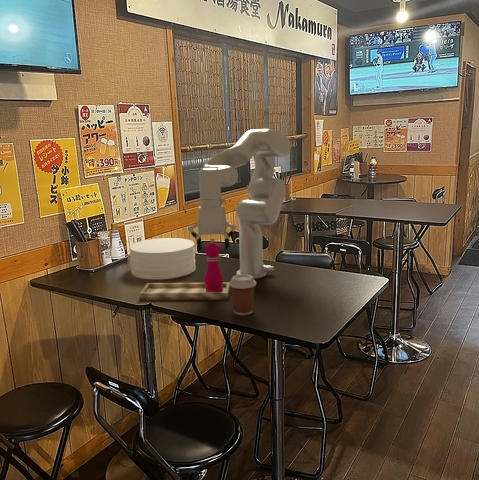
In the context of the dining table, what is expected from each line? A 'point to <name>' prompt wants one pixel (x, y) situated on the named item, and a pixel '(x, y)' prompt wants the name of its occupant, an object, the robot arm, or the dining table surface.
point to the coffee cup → (242, 293)
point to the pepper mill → (213, 268)
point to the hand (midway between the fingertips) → (213, 249)
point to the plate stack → (162, 258)
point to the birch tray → (181, 291)
